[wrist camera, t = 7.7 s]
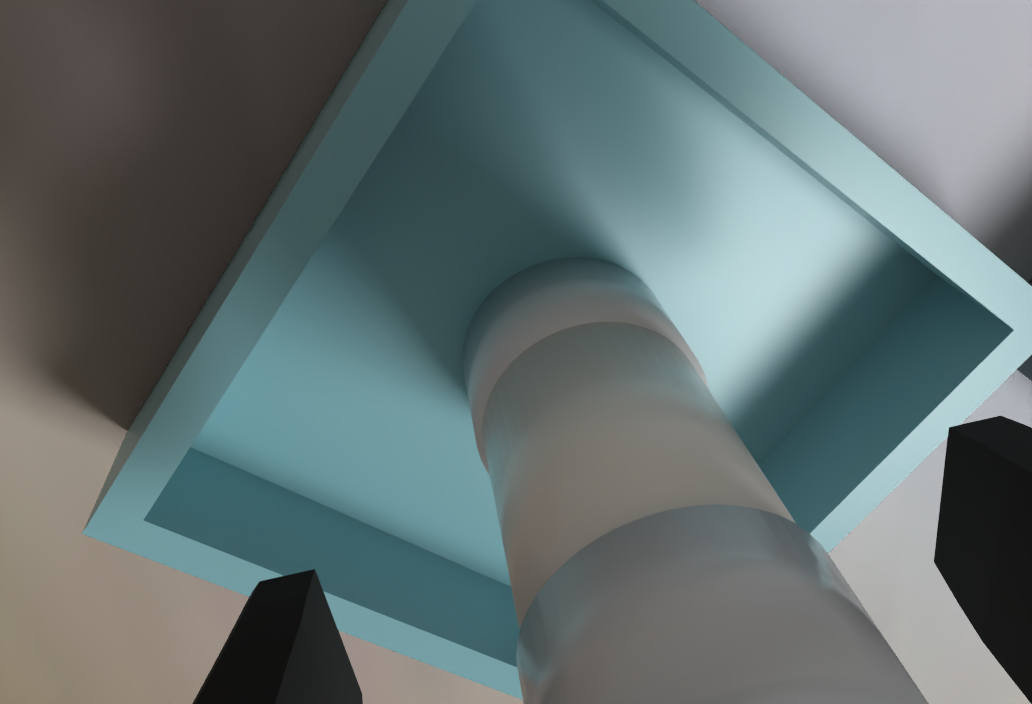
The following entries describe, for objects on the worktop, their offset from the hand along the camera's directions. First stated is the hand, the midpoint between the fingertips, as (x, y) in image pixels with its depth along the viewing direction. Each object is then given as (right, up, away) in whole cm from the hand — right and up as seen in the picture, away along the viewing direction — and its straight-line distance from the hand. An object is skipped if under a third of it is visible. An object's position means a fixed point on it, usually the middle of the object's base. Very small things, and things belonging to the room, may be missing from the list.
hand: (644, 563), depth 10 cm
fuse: (-1, +2, +4) cm, 5 cm away
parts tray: (-1, +3, +5) cm, 5 cm away
